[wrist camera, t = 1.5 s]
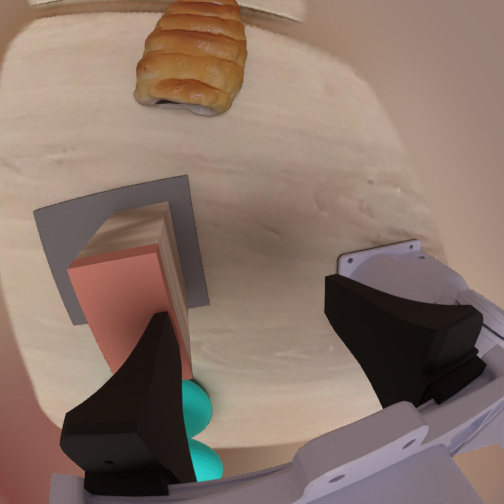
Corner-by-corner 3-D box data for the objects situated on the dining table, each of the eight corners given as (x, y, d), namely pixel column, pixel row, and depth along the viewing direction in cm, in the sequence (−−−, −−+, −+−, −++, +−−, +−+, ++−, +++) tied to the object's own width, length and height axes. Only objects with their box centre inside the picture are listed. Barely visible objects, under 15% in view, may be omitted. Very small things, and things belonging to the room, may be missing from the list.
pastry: (164, -7, 13) (162, -32, 10) (256, 7, 15) (271, -15, 12) (133, 109, 17) (122, 103, 13) (231, 121, 18) (242, 117, 15)
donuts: (139, 501, 19) (83, 460, 15) (139, 429, 28) (99, 374, 24) (236, 492, 20) (207, 452, 16) (220, 416, 29) (195, 357, 25)
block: (168, 201, 19) (156, 252, 11) (186, 291, 22) (192, 378, 14) (112, 212, 18) (66, 269, 10) (137, 300, 21) (120, 387, 13)
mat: (187, 174, 19) (187, 175, 19) (209, 301, 23) (209, 304, 23) (35, 210, 17) (33, 211, 17) (74, 322, 21) (73, 325, 21)
